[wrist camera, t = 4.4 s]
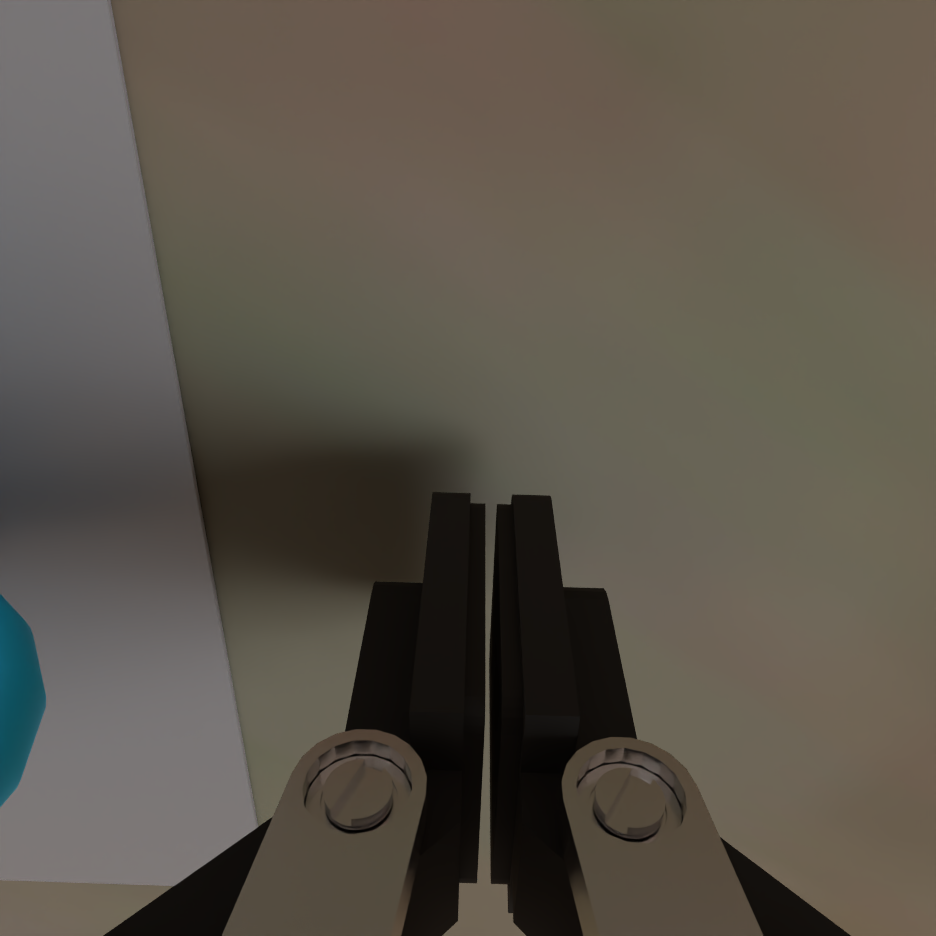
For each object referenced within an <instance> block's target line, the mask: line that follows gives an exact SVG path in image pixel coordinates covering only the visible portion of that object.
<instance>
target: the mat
mask: <svg viewBox="0 0 936 936" xmlns="http://www.w3.org/2000/svg"><path fill="white" fill-rule="evenodd" d="M0 594H1V595H2V596H3V597H4V598H5V599H6V600H7V601H8V603H9V604H10V605H11V606H12V607H13V608H14V609H15V610H16V611H17V612H18V613H19V614H20V616H21V617H22V618H23V619H24V620H25V621H26V623H27V624H28V625H29V626H30V628H31V630H32V633H33V637H34V641H35V646H36V650H37V655H38V660H39V665H40V669H41V674H42V679H43V684H44V688H45V693H46V708H45V711H44V714H43V717H42V720H41V723H40V725H39V728H38V731H37V734H36V737H35V740H34V743H33V746H32V749H31V752H30V754H29V757H28V760H27V763H26V766H25V769H24V772H23V775H22V778H21V780H20V782H19V785H18V787H17V788H16V790H15V791H14V792H13V793H12V794H11V795H10V797H9V798H8V799H7V800H6V801H5V802H4V804H3V805H2V806H1V807H0V880H15V881H44V882H74V883H103V884H133V885H162V886H175V885H176V884H178V883H179V882H181V881H182V880H183V879H185V878H186V877H188V876H189V875H191V874H192V873H193V872H195V871H196V870H198V869H199V868H201V867H202V866H203V865H205V864H206V863H208V862H209V861H211V860H212V859H213V858H215V857H216V856H218V855H219V854H220V853H222V852H223V851H225V850H226V849H228V848H229V847H230V846H232V845H233V844H235V843H236V842H238V841H239V840H240V839H242V838H243V837H245V836H246V835H248V834H249V833H250V832H252V831H253V830H255V829H256V828H258V823H257V817H256V812H255V806H254V800H253V795H252V789H251V784H250V778H249V772H248V767H247V761H246V756H245V750H244V744H243V739H242V733H241V728H240V722H239V717H238V711H237V705H236V700H235V694H234V689H233V683H232V677H231V672H230V666H229V661H228V655H227V649H226V644H225V638H224V633H223V627H222V621H221V616H220V610H219V605H218V599H217V594H216V588H215V582H214V577H213V571H212V566H211V560H210V554H209V549H208V543H207V538H206V532H205V526H204V521H203V515H202V510H201V504H200V498H199V493H198V487H197V482H196V476H195V471H194V465H193V459H192V454H191V448H190V443H189V437H188V431H187V426H186V420H185V415H184V409H183V403H182V398H181V392H180V387H179V381H178V375H177V370H176V364H175V359H174V353H173V348H172V342H171V336H170V331H169V325H168V320H167V314H166V308H165V303H164V297H163V292H162V286H161V280H160V275H159V269H158V264H157V258H156V253H155V247H154V241H153V236H152V230H151V225H150V219H149V213H148V208H147V202H146V197H145V191H144V185H143V180H142V174H141V169H140V163H139V157H138V152H137V146H136V141H135V135H134V130H133V124H132V118H131V113H130V107H129V102H128V96H127V90H126V85H125V79H124V74H123V68H122V62H121V57H120V51H119V46H118V40H117V34H116V29H115V23H114V18H113V12H112V7H111V1H110V0H0Z"/></svg>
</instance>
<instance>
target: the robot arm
mask: <svg viewBox="0 0 936 936" xmlns="http://www.w3.org/2000/svg"><path fill="white" fill-rule="evenodd" d="M489 689H490V846H491V884H508V913H513V922H514V923H515V924H516V925H517V926H518V927H519V929H520V930H521V931H522V932H523V933H524V934H525V935H526V936H850V935H849V934H848V933H846V932H845V931H844V930H842V929H841V928H840V927H838V926H837V925H836V924H834V923H833V922H832V921H831V920H829V919H828V918H827V917H825V916H824V915H823V914H821V913H820V912H819V911H817V910H816V909H815V908H813V907H812V906H811V905H809V904H808V903H807V902H805V901H804V900H803V899H801V898H800V897H799V896H797V895H796V894H795V893H793V892H792V891H791V890H789V889H788V888H787V887H785V886H784V885H783V884H781V883H780V882H779V881H777V880H776V879H775V878H774V877H772V876H771V875H770V874H768V873H767V872H766V871H764V870H763V869H762V868H760V867H759V866H758V865H756V864H755V863H754V862H752V861H751V860H750V859H748V858H747V857H746V856H744V855H743V854H742V853H740V852H739V851H738V850H736V849H735V848H734V847H732V846H731V845H730V844H728V843H727V842H726V841H724V840H723V839H722V838H721V837H720V836H719V834H718V832H717V830H716V827H715V825H714V823H713V821H712V818H711V816H710V814H709V812H708V809H707V807H706V805H705V802H704V800H703V798H702V796H701V793H700V791H699V789H698V787H697V785H696V783H695V782H694V780H693V779H692V777H691V775H690V774H689V772H688V771H687V769H686V768H685V767H684V766H683V765H682V764H681V763H680V762H679V761H678V760H676V759H675V758H674V757H673V756H672V755H671V754H670V753H668V752H666V751H664V750H662V749H661V748H659V747H657V746H655V745H653V744H652V743H648V742H645V741H641V740H638V739H637V737H636V732H635V727H634V722H633V717H632V712H631V708H630V703H629V698H628V693H627V688H626V683H625V678H624V674H623V669H622V664H621V659H620V654H619V649H618V644H617V639H616V635H615V630H614V625H613V620H612V615H611V610H610V605H609V601H608V597H607V593H606V591H605V590H604V588H571V587H563V583H562V576H561V568H560V561H559V553H558V546H557V538H556V530H555V523H554V515H553V508H552V500H551V496H542V495H512V500H511V505H507V504H497V513H496V533H495V553H494V573H493V593H492V613H491V632H490V658H489ZM484 727H485V504H473V503H470V493H441V492H433V495H432V503H431V513H430V522H429V531H428V541H427V550H426V560H425V569H424V578H423V583H405V582H375V583H374V585H373V589H372V594H371V599H370V604H369V609H368V615H367V620H366V625H365V630H364V635H363V641H362V646H361V651H360V656H359V662H358V667H357V672H356V677H355V682H354V688H353V693H352V698H351V703H350V709H349V714H348V719H347V724H346V729H345V732H342V733H337V734H335V735H333V736H331V737H329V738H327V739H325V740H323V741H321V742H319V743H317V744H316V745H315V746H314V747H312V748H311V749H310V750H309V751H308V752H307V753H306V754H305V755H303V756H302V758H301V759H300V761H299V762H298V764H297V766H296V767H295V769H294V770H293V772H292V774H291V776H290V778H289V781H288V783H287V785H286V788H285V790H284V792H283V795H282V797H281V799H280V801H279V804H278V806H277V808H276V811H275V813H274V815H273V817H272V818H270V819H269V820H268V821H266V822H265V823H263V824H262V825H260V826H259V827H258V828H256V829H255V830H253V831H252V832H250V833H249V834H248V835H246V836H245V837H243V838H242V839H240V840H239V841H238V842H236V843H235V844H233V845H232V846H230V847H229V848H228V849H226V850H225V851H223V852H222V853H220V854H219V855H218V856H216V857H215V858H213V859H212V860H211V861H209V862H208V863H206V864H205V865H203V866H202V867H201V868H199V869H198V870H196V871H195V872H193V873H192V874H191V875H189V876H188V877H186V878H185V879H183V880H182V881H181V882H179V883H178V884H176V885H175V886H173V887H172V888H171V889H169V890H168V891H166V892H165V893H164V894H162V895H161V896H159V897H158V898H156V899H155V900H154V901H152V902H151V903H149V904H148V905H146V906H145V907H144V908H142V909H141V910H139V911H138V912H136V913H135V914H134V915H132V916H131V917H129V918H128V919H126V920H125V921H124V922H122V923H121V924H119V925H118V926H117V927H115V928H114V929H112V930H111V931H109V932H108V933H107V934H105V935H104V936H442V935H443V934H444V933H445V932H446V931H447V930H449V929H450V928H451V927H452V926H453V925H454V924H455V923H456V922H457V921H458V898H459V883H477V870H478V850H479V830H480V810H481V789H482V769H483V749H484Z"/></svg>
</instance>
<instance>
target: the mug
mask: <svg viewBox="0 0 936 936" xmlns="http://www.w3.org/2000/svg"><path fill="white" fill-rule="evenodd" d="M45 708H46V693H45V688H44V684H43V679H42V674H41V669H40V665H39V660H38V655H37V650H36V646H35V641H34V637H33V633H32V630H31V628H30V626H29V625H28V624H27V623H26V621H25V620H24V619H23V618H22V617H21V616H20V614H19V613H18V612H17V611H16V610H15V609H14V608H13V607H12V606H11V605H10V604H9V603H8V601H7V600H6V599H5V598H4V597H3V596H2V595H1V594H0V807H1V806H2V805H3V804H4V802H5V801H6V800H7V799H8V798H9V797H10V795H11V794H12V793H13V792H14V791H15V790H16V788H17V787H18V785H19V782H20V780H21V778H22V775H23V772H24V769H25V766H26V763H27V760H28V757H29V754H30V752H31V749H32V746H33V743H34V740H35V737H36V734H37V731H38V728H39V725H40V723H41V720H42V717H43V714H44V711H45Z"/></svg>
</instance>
